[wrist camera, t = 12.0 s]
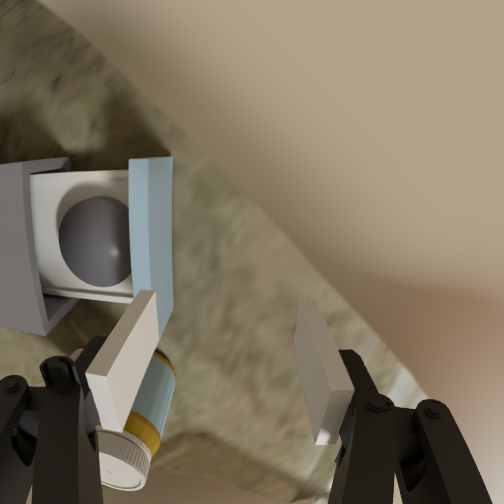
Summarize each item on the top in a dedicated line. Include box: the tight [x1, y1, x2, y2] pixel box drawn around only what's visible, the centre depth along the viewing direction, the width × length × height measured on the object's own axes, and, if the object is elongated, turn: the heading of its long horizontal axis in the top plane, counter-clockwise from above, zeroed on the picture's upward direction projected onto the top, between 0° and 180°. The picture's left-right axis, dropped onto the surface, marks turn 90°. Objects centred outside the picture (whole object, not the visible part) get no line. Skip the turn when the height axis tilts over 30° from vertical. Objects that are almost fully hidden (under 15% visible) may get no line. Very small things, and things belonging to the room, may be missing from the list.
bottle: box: [96, 352, 176, 491], centre depth 27 cm, size 7×7×15 cm
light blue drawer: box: [30, 157, 174, 349], centre depth 25 cm, size 18×14×7 cm
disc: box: [59, 196, 132, 287], centre depth 26 cm, size 8×8×2 cm
